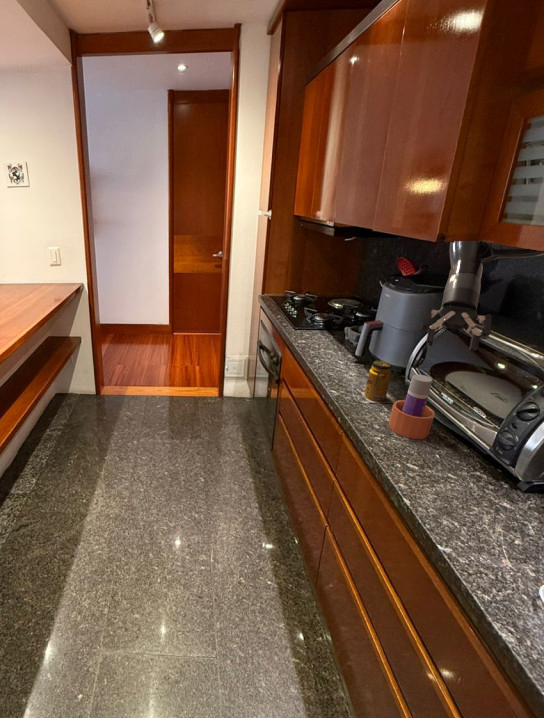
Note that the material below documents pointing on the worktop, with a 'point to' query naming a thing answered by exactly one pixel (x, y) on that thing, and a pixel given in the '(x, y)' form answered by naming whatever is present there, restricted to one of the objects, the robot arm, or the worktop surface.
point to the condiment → (378, 383)
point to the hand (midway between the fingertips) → (450, 347)
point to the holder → (410, 422)
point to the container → (417, 395)
